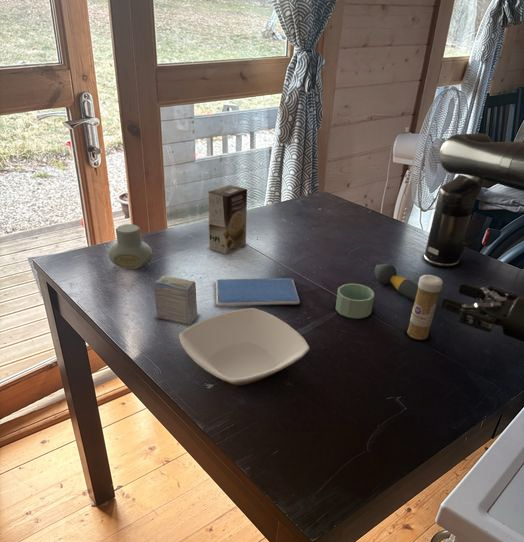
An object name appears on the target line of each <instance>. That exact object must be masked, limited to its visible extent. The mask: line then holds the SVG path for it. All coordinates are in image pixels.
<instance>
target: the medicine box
mask: <svg viewBox="0 0 524 542" xmlns="http://www.w3.org/2000/svg"><path fill="white" fill-rule="evenodd" d="M196 287H197V286H196V281H194V280H189V279H184V278H179V277H173V276H168V275H162V276H161V277H160V278H158V280H156V281H155V282H154V283H153V290H154V301H155V309H156V310H155V312H156V318H157V319H160V320H166V321H171V322H176V323H179V324H185V325H190V324H192V323H193V321H194V320H195V319H196V317H197V316H198V302H197V301H198V300H197V288H196Z"/></svg>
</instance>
